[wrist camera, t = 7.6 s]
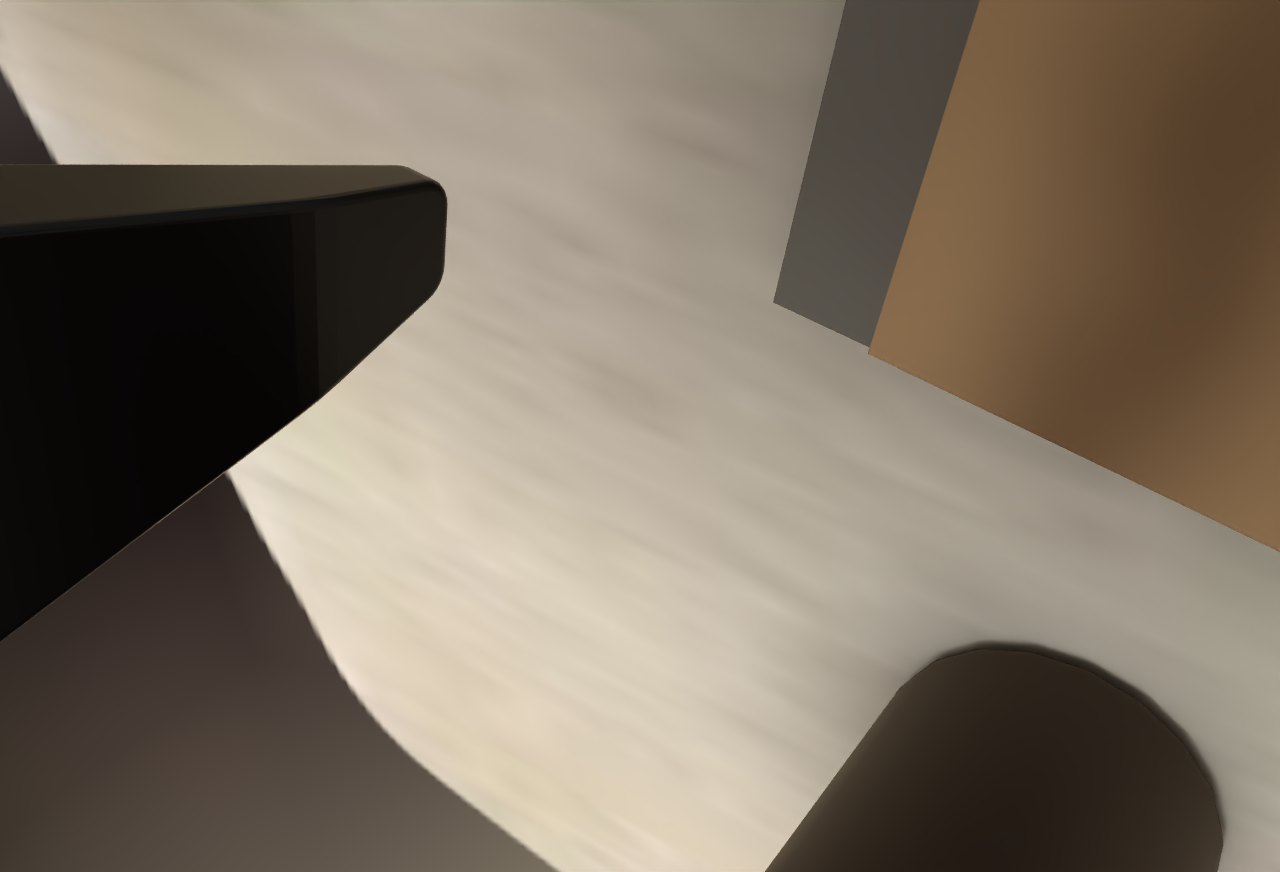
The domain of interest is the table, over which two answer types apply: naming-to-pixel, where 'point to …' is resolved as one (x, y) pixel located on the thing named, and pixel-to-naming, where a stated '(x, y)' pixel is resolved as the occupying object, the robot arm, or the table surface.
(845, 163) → the rubber mat
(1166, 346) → the walnut lid
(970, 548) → the table surface
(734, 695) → the table surface
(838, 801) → the bottle
